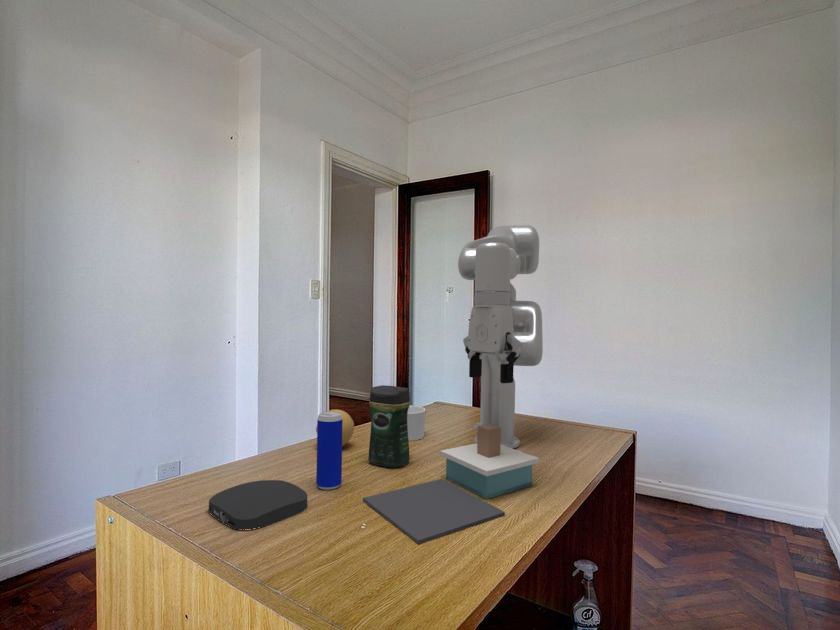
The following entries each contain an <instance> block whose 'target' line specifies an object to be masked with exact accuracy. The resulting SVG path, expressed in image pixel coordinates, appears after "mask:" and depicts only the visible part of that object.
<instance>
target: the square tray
mask: <svg viewBox="0 0 840 630" xmlns="http://www.w3.org/2000/svg"><path fill="white" fill-rule="evenodd" d="M445 459H446V460H445V463H446V465H445V469H446V470H445V472H446V473H445V478H446V480H449V481H451V482H453V483H455V484H456V485H459V486H460V487H463V488H464V489H465V490H468V491H470V492H471V493H474V494H475V495H478V496H480V497H481V498H484V499H486V500H488V499H492V498H495V497H498V496H502V495H505V494H509V493H512V492H515V491H519V490H522V489H526V488H529V487H531V486H532V483H533V482H532V480H533V479H532V478H533V465H529V466H525V467H521V468H517V469H513V470H509V471H506V472H502V473H498V474H494V475H490V476H485V475H483V474H480V473H478V472H476V471H474V470H472V469H469V468H467V467H465V466H463V465H461V464H458V463H456V462H454V461H452V460H450V459H447V458H445Z"/></svg>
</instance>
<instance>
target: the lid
mask: <svg viewBox="0 0 840 630" xmlns="http://www.w3.org/2000/svg"><path fill="white" fill-rule="evenodd" d="M477 435H478V436H477ZM477 435H476V436H477V443H471V444H467V445H461V446H456V447H453V448H447V449H441V450H440V451H439V455H440V456H441V457H443V458H445V459H446V458H447V459H450V460H452V461H454V462H456V463H458V464H461V465H463V466H465V467H467V468H469V469H472V470H474V471H476V472H478V473H480V474H483V475H485V476H490V475H494V474H498V473H502V472H506V471H509V470H513V469H517V468H521V467H525V466H529V465H532V466H533V465H536V464H540V458H539V457H537V456H534V455H532V454H529V453H526V452H523V451H520V450H518V449H515V448H513V449H512V448H509V447H506V446H504V445H501V444H500V442H501V427H498V426H494V425H491V424H486V425H481V426H478V431H477Z"/></svg>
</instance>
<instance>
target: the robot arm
mask: <svg viewBox="0 0 840 630" xmlns="http://www.w3.org/2000/svg"><path fill="white" fill-rule="evenodd" d="M457 261H458V262H457V266H458V267H457V268H458V272H459V274H460V277H462V279H464V280H467V281H474V297H473V301H474V303H473V304H474V305H473V306H472V307H471V310H470V316H469V323H468V333H467V336H466V337H465V338H463V339H462V341H463V345H464V347H465V349H464V350H465V353H466V354H467V359H468V360H469V363H468V365H469V367H468V369H469V371H468V373H469V374H468V376H469V378H479V377H480V416H479V417H480V419H479V421H478V422H476V424H473V426H472V429H473V430H474V431H477V432H478V426H481V425H486V424H491V425H494V426H498V427H501V442H500V444H501V445H504V446H506V447H509V448H512V449H515V448H518V447H519V446H520V445H521V442H520V439H519V438H518V437H516V436H515V423H516V422H515V419H516V416H515V415H516V414H515V412H516V381H515V377H514V367H516V366H517V367H534V366H537V365H540V364H541V361H542V359H543V354H544V353H543V352H544V350H543V348H544V346H543V342H544V341H543V316H542V315H543V314H542V309H541V306H540V305H539V304H538V303H537V302H535V301H531V300H517V290H516V288H515V287H514V284H512V283H511V280H513V279H515V278H516V277H517V275H530V274H534V273H536V271H537V270H538V267H539V261H540V237H539V234H538V231H537V229H536V228H535V227H534V226H532V225H529V224H527V225H524V224H523V225H498V226H495V227H494V228H492V229H491V230H490V231H489V232H488V234H487V235H486V236H484V237H481V238H478V239H475V240H474V239H473V240H472V241H471V240H470V241H468V242H467V243H465V244H464V246H463V247H462V249H461V251H460V253H459V257H458V260H457ZM477 436H478V434H476V435H475V436H474V444H476V443H477Z"/></svg>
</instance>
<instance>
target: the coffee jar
mask: <svg viewBox="0 0 840 630" xmlns="http://www.w3.org/2000/svg"><path fill="white" fill-rule="evenodd" d="M368 403H369V407H370V413H371V414H370V415H371V416H370V417H371V419H370V436H369V443H368V444H369V446H368V461H369V463H370V464H373V465H377V466H380V467H381V466H382V467H386V468H397V467H403V466H405V465H406V464H408V463H409V462H410V443H409V442H410V441H408V427H407V414H408V408H409V406H410V405H411V396H410V391H409V388H407V387H403V386H402V387H401V386H395V385H384V384H383V385H377V386H373V387H372V388H371V390H370V394H369V402H368Z"/></svg>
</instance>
